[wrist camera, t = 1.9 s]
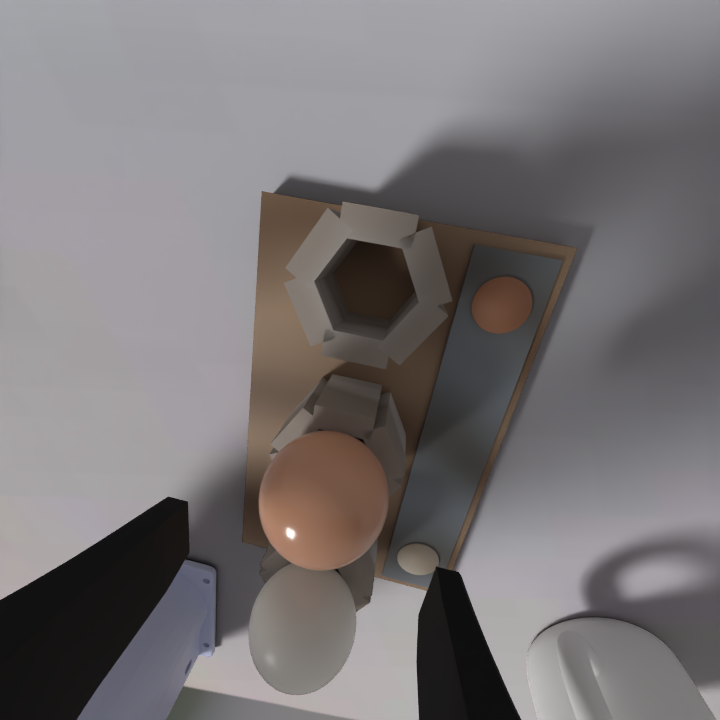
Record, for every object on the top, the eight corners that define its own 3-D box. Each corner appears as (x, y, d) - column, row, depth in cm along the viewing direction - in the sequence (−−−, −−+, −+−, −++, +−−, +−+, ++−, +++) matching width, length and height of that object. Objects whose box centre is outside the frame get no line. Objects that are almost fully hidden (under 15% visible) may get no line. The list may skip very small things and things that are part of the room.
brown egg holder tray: (441, 578, 20) (447, 655, 16) (249, 528, 21) (214, 591, 17) (565, 247, 13) (625, 251, 9) (271, 193, 14) (221, 179, 10)
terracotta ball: (380, 511, 15) (368, 620, 10) (281, 485, 15) (230, 583, 11) (403, 422, 13) (398, 511, 9) (291, 397, 13) (235, 471, 9)
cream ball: (354, 614, 17) (336, 735, 13) (270, 591, 18) (225, 702, 13) (370, 551, 16) (354, 667, 11) (277, 527, 16) (228, 631, 12)
